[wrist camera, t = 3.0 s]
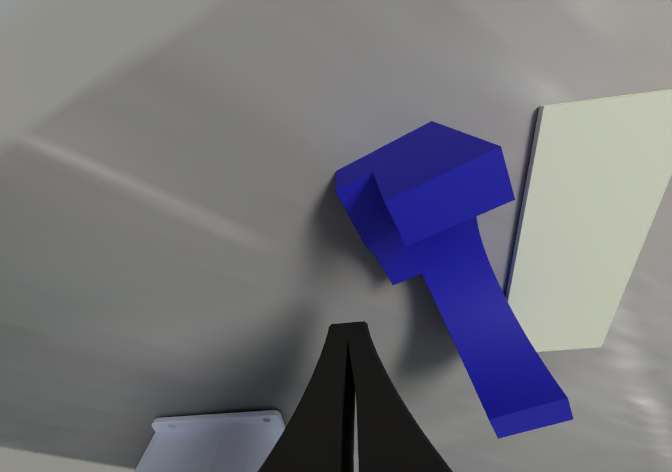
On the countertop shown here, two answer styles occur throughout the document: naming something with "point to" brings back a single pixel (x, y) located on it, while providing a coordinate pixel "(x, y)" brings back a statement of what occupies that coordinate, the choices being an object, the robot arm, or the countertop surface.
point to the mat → (587, 214)
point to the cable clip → (453, 260)
